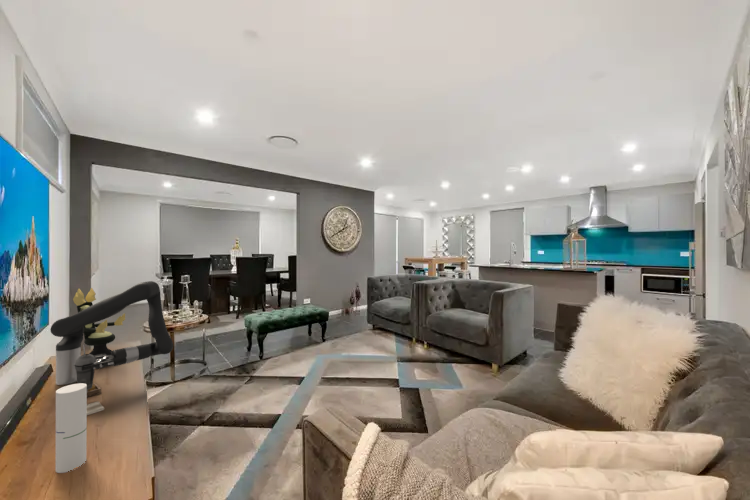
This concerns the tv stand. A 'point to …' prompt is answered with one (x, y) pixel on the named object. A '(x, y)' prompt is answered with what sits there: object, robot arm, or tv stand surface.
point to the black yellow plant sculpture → (92, 334)
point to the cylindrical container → (71, 427)
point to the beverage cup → (88, 374)
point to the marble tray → (94, 390)
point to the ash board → (94, 408)
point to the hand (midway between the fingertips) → (79, 365)
